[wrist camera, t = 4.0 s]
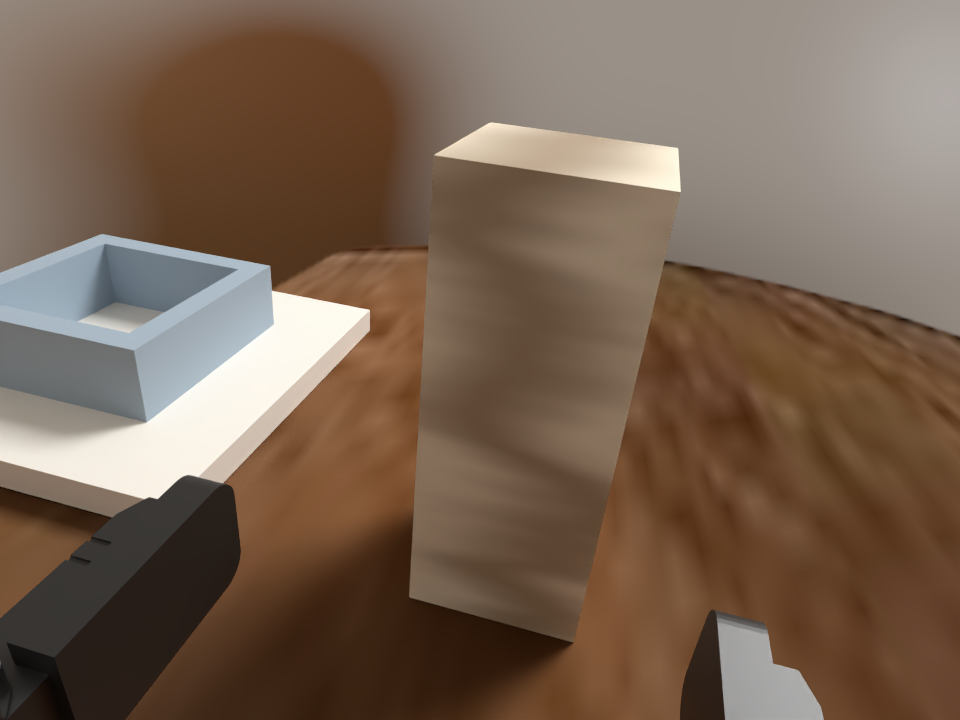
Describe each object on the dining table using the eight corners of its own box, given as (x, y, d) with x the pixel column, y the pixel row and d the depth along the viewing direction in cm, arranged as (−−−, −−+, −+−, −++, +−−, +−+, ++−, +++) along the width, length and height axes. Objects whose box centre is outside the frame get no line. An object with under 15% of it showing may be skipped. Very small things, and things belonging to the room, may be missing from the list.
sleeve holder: (369, 330, 35) (370, 255, 33) (174, 534, 21) (154, 426, 19) (107, 277, 38) (93, 205, 36) (-215, 427, 24) (-268, 323, 22)
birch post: (591, 527, 23) (677, 148, 17) (573, 642, 19) (680, 192, 13) (455, 494, 24) (490, 122, 18) (409, 597, 20) (433, 154, 14)
